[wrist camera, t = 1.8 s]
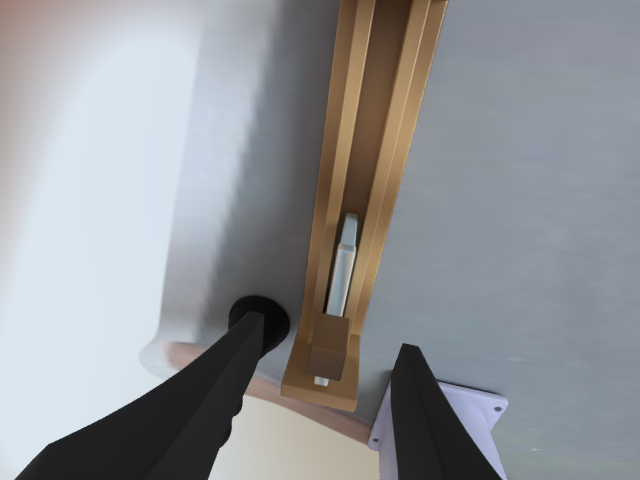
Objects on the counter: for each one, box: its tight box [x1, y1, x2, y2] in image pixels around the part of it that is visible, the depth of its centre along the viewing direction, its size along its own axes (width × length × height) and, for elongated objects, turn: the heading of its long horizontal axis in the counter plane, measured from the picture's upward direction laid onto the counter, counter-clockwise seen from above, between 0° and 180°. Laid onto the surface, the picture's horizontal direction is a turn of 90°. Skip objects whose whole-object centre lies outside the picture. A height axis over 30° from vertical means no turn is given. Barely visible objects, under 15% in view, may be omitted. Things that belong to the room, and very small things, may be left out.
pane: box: [306, 213, 358, 386], centre depth 14 cm, size 8×1×6 cm, turn 173°
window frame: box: [280, 0, 449, 412], centre depth 13 cm, size 19×4×6 cm, turn 173°
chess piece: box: [220, 296, 290, 447], centre depth 16 cm, size 4×4×10 cm
